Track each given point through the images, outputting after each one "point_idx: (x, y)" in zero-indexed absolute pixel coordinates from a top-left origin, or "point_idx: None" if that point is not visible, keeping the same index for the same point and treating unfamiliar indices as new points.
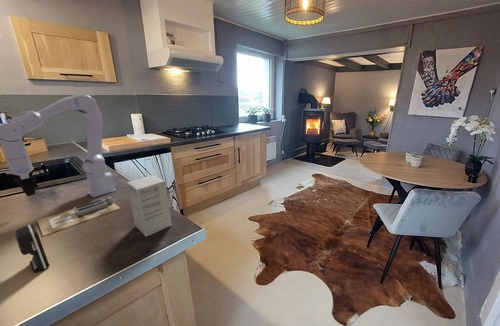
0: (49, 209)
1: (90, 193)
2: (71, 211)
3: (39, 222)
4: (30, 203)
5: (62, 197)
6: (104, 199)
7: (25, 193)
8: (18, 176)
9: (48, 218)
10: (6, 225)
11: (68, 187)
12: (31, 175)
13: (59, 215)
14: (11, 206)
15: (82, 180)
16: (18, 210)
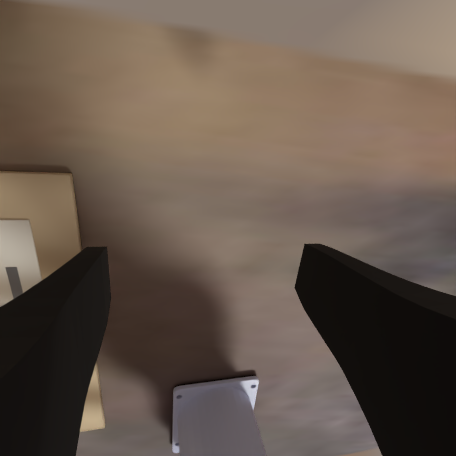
0: (202, 239)
1: (225, 385)
2: None
3: (16, 180)
4: (378, 184)
5: None
6: (94, 418)
7: (71, 259)
8: (448, 359)
9: (42, 223)
10: (156, 34)
11: None
12: (377, 433)
13: (38, 268)
14: (434, 109)
15: None
16: (339, 126)
